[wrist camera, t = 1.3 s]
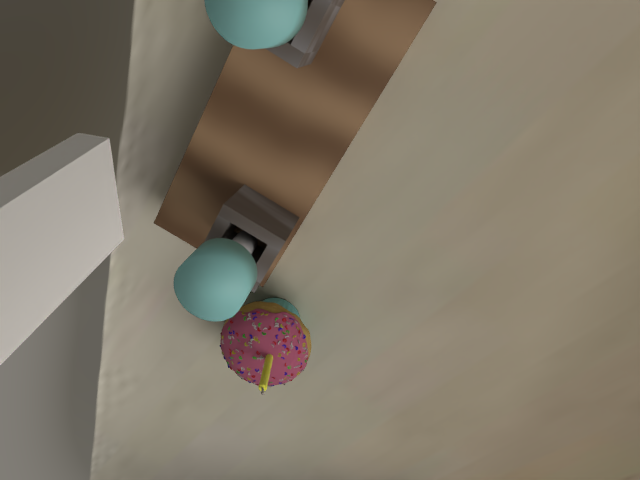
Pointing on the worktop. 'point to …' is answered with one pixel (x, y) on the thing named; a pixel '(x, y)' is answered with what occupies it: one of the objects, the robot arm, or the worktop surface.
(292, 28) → the knob near
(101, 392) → the worktop surface
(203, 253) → the knob far
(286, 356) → the cupcake
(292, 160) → the mount
